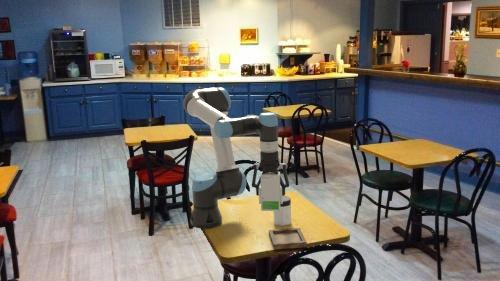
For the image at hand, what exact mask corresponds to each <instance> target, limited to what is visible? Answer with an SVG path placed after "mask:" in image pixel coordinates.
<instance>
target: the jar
mask: <svg viewBox="0 0 500 281" xmlns="http://www.w3.org/2000/svg"><path fill="white" fill-rule="evenodd" d="M291 204H292V201H291V197H289V196H287V195H285V196H283V204H281V199H280V211H272V212H273V223H274V226H275V225H276V226H281V227H284V226H287V225H291V224H292V205H291Z"/></svg>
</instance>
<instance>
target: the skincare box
mask: <svg viewBox="0 0 500 281" xmlns="http://www.w3.org/2000/svg"><path fill="white" fill-rule="evenodd" d="M262 172H263V170H262V171H261V172H260V176H261V183H260V187H261V204H260V210H261V212H262V211H263V212H273V211H280V188H281V185H280V176H281V171H278V172H279V173H278V174H274V173H270V172H269V173H266V172H265V174H262Z"/></svg>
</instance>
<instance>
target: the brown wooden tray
mask: <svg viewBox="0 0 500 281" xmlns="http://www.w3.org/2000/svg"><path fill="white" fill-rule="evenodd" d="M268 236H269V239H270V242H271V245H272V248H273V250H282V249H296V248H297V249H298V248H307V247H308V242H307V240H306V238H305V236H304V234H303V232H302V230H301V227H291V228H290V227H289V228H277V229H276V228H275V229H268Z"/></svg>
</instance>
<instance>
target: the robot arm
mask: <svg viewBox="0 0 500 281" xmlns="http://www.w3.org/2000/svg"><path fill="white" fill-rule="evenodd" d="M182 105H183V110H185V112H186V114H188V115H189V116H191V117H195V118H197V119H200V120H201V121H202V122H204V123H205V124H207V125H209V128H210V134H211V137H212V144H213V148H214V154H215V158H216V159H215V160H216V164H217V169H216V171H215V173H213V172H204V173H201V174H200V173H199V174H198V175H196V176H195V177H194V178H193V179H192V182H191V190H192V193H191V194H192V205H193V206H192V211H191V212H192V213H191V216H190V226H192V227H194V228H195V229H202V230H203V229H213V228H216V227H219V226H220V225H221V224H223V216H222V214H221V211H220V209H219V204H218V203H219V202H218V201H219V200H222V199H228V198H231V197H237V196H239V195H242V194H243V193H245V190H246V187H247V177H246V175H245V173H244V171H242V170H240V166H238V165H237V164H236V162H235V156H234V152H233V146H232V141H231V138H235V137H239V136H246V135H255V134H256V135H259V150H260V152H259V153H260V162H258V163H253V165H252V166H253V174H252V181H251V187H252V188H255V194H256V196H258V205H259V204H260V205H261V175H260V176H259V179H258V181H257V180H256V179H257V174H258V169H259V167H260V168H261V169H262V171H263V172H262V171H261V172H262V174H265V172H266V173H269V172H270V173H274V174H278V173H279V172H280V171H279V170H278V169H279V167H280V169H282V173H283V174H282V175H283V178H284V180H283V178H282V177H281V175H280V199H281V204H283V196H286V188H289V187H290V182H289V177H288V173H287V172H288V171H287V163H286V162H284V163H283V162H282V163H281V162H280V160H279V156H280V155H279V125H278V124H279V121H278V114H277V113H274V112H261V113H260V114H259V115H255V114H248V115H245V116H243V117H235V118H231V117H229V116H228V114H229V110H230V108H231V107H232V106H231V105H232V100H231V97H230V94H229V92H228V90H226V89H225V88H224V87H209V88H198V89H197V88H196V89H193V90H190V91H189V92H188V93H187V94H186V95H185V96H184V99H183V103H182ZM256 181H257V183H256ZM284 182H285V183H284Z"/></svg>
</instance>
